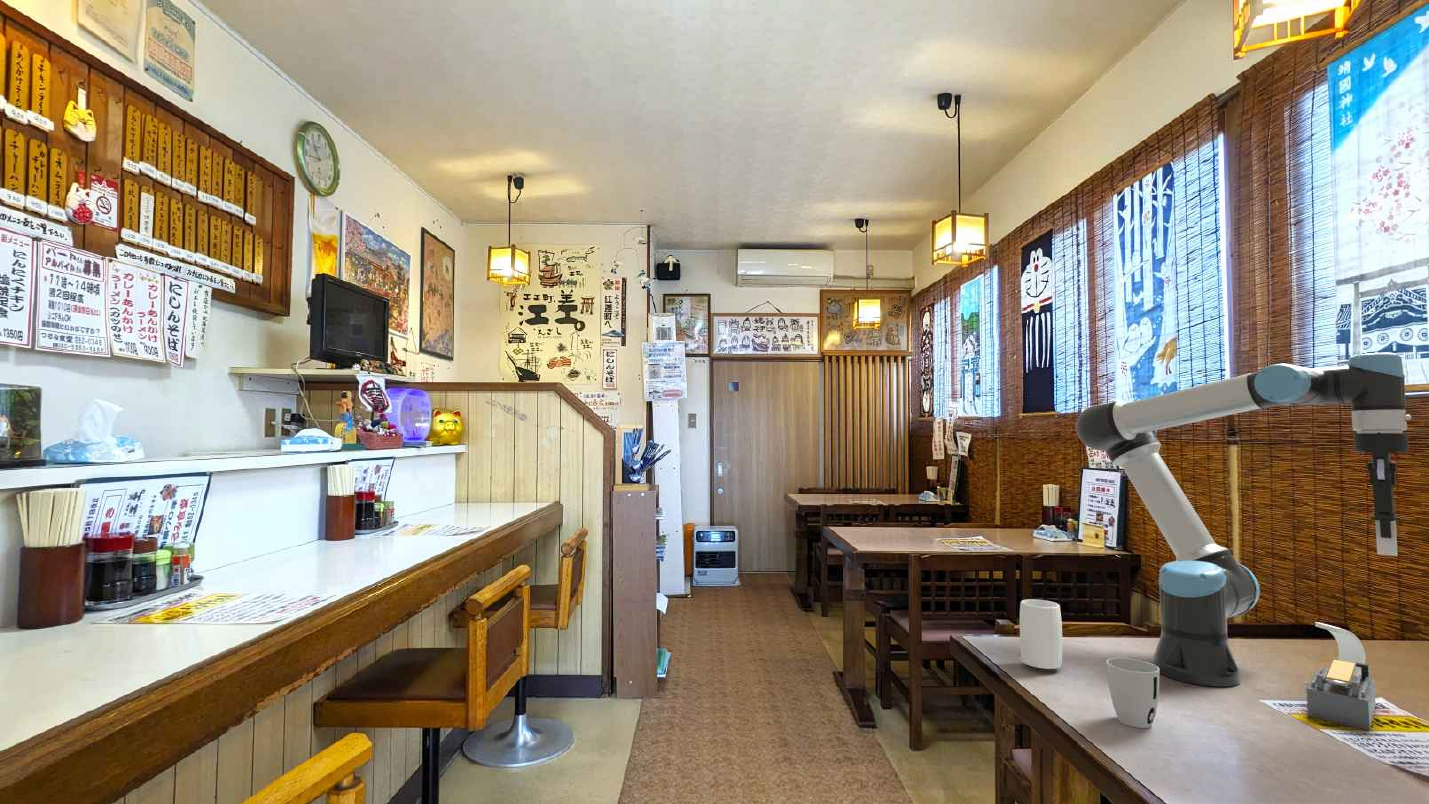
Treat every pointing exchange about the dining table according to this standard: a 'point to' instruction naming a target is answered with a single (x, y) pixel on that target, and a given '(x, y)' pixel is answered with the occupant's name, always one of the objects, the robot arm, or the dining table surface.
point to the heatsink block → (1342, 699)
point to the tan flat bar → (1341, 671)
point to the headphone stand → (1347, 646)
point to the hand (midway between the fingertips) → (1387, 554)
